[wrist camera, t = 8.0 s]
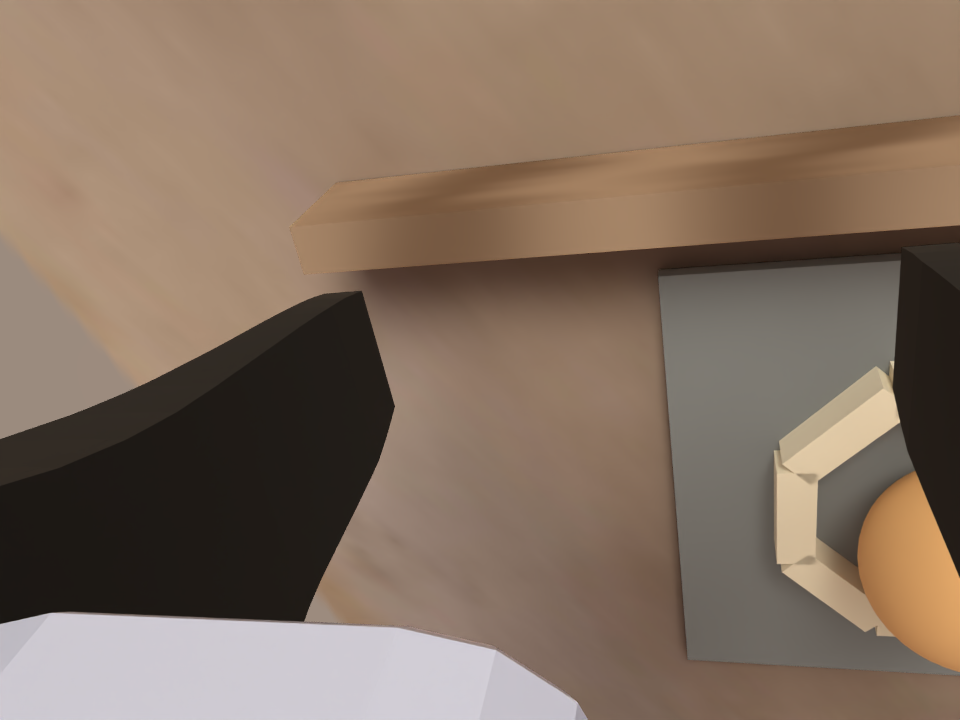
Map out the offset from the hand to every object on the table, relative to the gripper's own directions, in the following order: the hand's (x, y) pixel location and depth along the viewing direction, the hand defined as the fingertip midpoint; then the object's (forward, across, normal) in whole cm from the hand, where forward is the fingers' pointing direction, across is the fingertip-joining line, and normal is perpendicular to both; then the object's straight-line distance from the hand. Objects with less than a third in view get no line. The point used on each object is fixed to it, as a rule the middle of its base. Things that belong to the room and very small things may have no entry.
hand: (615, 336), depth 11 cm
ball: (+6, -7, +10) cm, 14 cm away
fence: (+9, -3, +1) cm, 10 cm away
